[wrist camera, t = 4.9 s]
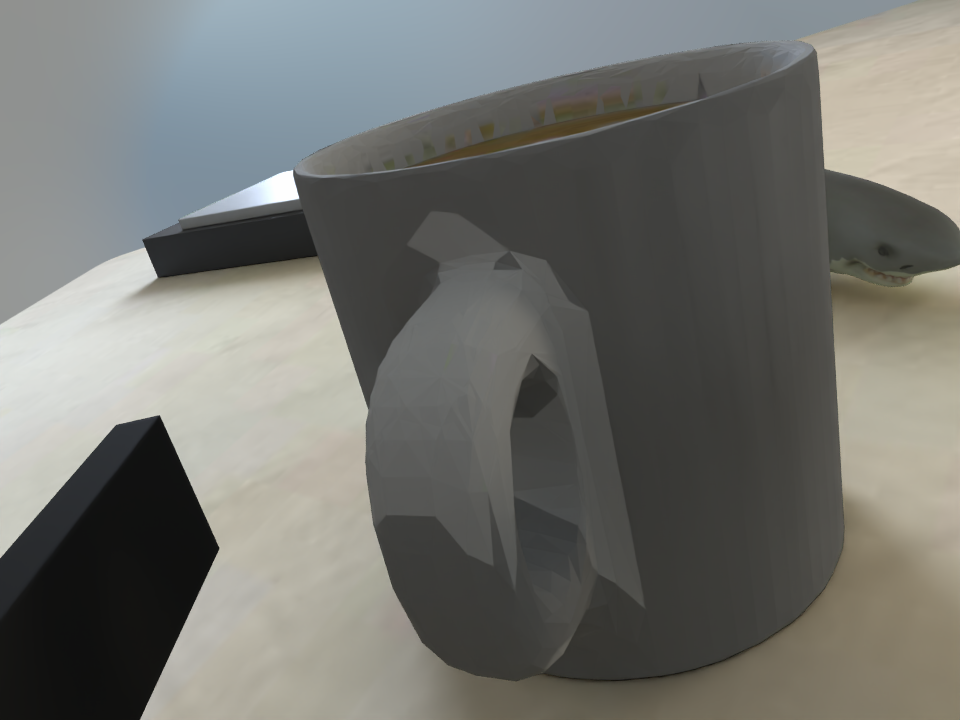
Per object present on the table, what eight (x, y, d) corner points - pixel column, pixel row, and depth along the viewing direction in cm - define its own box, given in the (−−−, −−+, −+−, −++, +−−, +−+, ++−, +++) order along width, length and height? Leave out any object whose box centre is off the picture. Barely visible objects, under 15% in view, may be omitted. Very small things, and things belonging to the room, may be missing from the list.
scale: (157, 277, 58) (137, 229, 57) (274, 215, 72) (260, 175, 70) (388, 245, 51) (372, 188, 49) (471, 182, 64) (460, 136, 62)
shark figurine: (889, 420, 20) (882, 130, 17) (454, 346, 32) (406, 166, 29) (1030, 234, 29) (1040, 20, 26) (646, 230, 40) (623, 82, 38)
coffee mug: (534, 407, 25) (461, 93, 21) (871, 429, 20) (856, 15, 16) (234, 738, 16) (-2, 271, 12) (742, 965, 10) (621, 224, 6)
